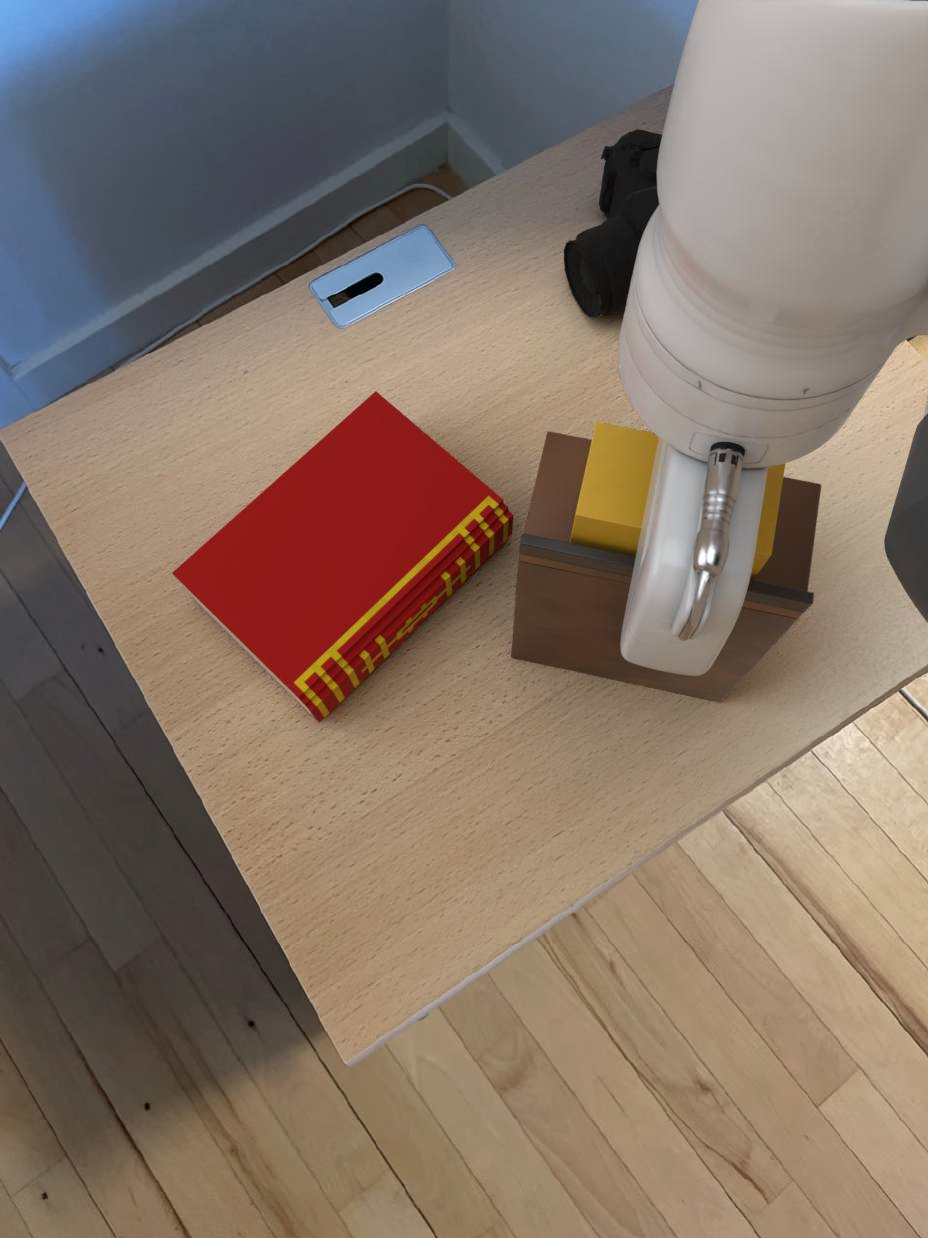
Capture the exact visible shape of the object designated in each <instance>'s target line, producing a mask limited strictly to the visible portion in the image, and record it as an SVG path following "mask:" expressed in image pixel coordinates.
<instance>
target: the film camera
mask: <svg viewBox="0 0 928 1238" xmlns="http://www.w3.org/2000/svg"><path fill="white" fill-rule="evenodd" d="M662 134H663V133H662ZM662 134H661V133H657V132H652V131H648V130H645V129H639V128H636V129H634V130H632V131H628V132H626V133H625V134H623V135H621V136H620V137H619V139H618V140H617V142H616V143H615V144H613V145H610V146H609V145H604V148H603V151H602V153H601V156H600V160H604V165H603V172H602V178H601V184H600V192H599V198H598V207H599V210H600V211H601V212H602V213H603V215H604V216H605V217H606V219H605V220H604V221H603V222H602V223H601V224H599V225H596V226H593V227H590V228H587V229H585V230H581V232H580V233H578V234H577V235H576V236H575V239H571V240H568V241H567V242H566V243H565V245H564V248H563V267H564V273H565V277H566V279H567V282H568V286H569V289H570V291H571V295H572V296H573V298H574V300H575V301H576V303H577V305H578V307H579V308H580V309H581V311H582V312H583V314H584V315H585V316H587V317H588V318H590V319H596V318H598V317H601V316H605V317H609V316H612V315H615V314H617V313H619V312H621V311H622V310H625V308H626V303H627V298H628V293H629V288H630V284H631V279H632V274H633V270H634V266H635V261H636V257H637V252H638V247H639V244H640V241H641V238H642V235H643V233H644V230H645V228H646V226H647V224H648V222H649V220H650V218H651V217H652V215H653V213H654V212H655V210H656V209H657V207H658V205H659V199H658V193H657V162H658V155H659V148H660V144H661V139H662Z"/></svg>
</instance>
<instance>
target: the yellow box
mask: <svg viewBox="0 0 928 1238" xmlns="http://www.w3.org/2000/svg"><path fill="white" fill-rule="evenodd" d="M658 439H659V437H658V436H657V435H655V434H654V433H653V432H652V431H646V430H642V429H636V428H632V427H631V428H630V427H626V426H621V425H617V424H610V423H605V422H600V421H596V422H595V424H594V428H593V433H592V437H591V440H592V442H591V446H590V450H589V455H588V459H587V464H586V468H585V473H584V477H583V482H582V486H581V491H580V495H579V500H578V504H577V509H576V513H575V518H574V523H573V528H572V533H571V539H570V543H573V544H578V545H583V546H588V547H593V548H598V549H602V550H607V551H612V552H617V553H622V554H627V555H632V556H636V553H637V548H638V543H639V538H640V533H641V527H642V522H643V517H644V512H645V507H646V501H647V496H648V491H649V486H650V481H651V475H652V470H653V465H654V460H655V455H656V449H657V444H658ZM785 468H786V463H784V464H780V465H776V466H770V467H768V472H767V478H766V485H765V492H764V498H763V505H762V511H761V518H760V524H759V531H758V537H757V544H756V551H755V557H754V562H753V568H752V572H751V577H750V580H754V579H755V577H756V576H757V574H758V573H759V572H760V570H761V569H762V567H763V566H764V565H765V563H766V562H767V560H768V559H769V558H770V556H771V555H772V549H773V542H774V535H775V529H776V522H777V516H778V509H779V502H780V496H781V489H782V482H783V477H785V475H784V474H785V470H786V469H785Z"/></svg>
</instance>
